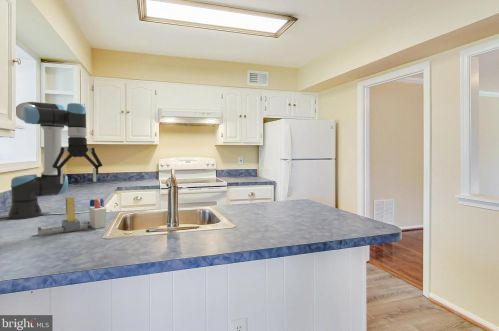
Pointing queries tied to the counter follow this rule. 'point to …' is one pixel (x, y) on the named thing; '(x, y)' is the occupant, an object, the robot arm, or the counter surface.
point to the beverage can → (93, 202)
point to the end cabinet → (97, 217)
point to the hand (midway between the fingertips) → (78, 182)
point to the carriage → (70, 216)
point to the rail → (58, 229)
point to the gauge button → (97, 203)
